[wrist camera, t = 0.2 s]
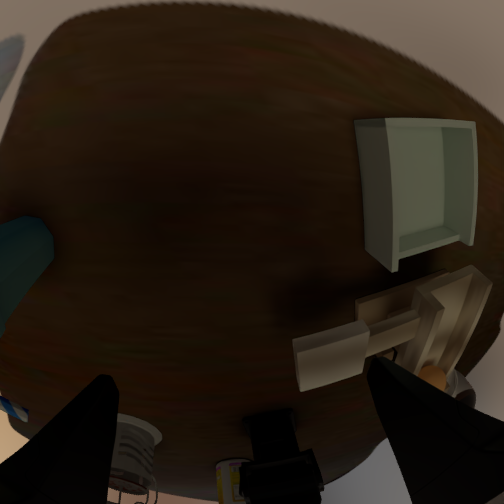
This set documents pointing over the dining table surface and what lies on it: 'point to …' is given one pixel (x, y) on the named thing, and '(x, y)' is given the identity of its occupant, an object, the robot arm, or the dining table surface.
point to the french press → (133, 456)
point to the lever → (400, 333)
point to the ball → (433, 376)
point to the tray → (416, 185)
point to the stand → (390, 304)
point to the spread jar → (461, 389)
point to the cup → (21, 273)
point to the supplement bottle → (229, 481)
